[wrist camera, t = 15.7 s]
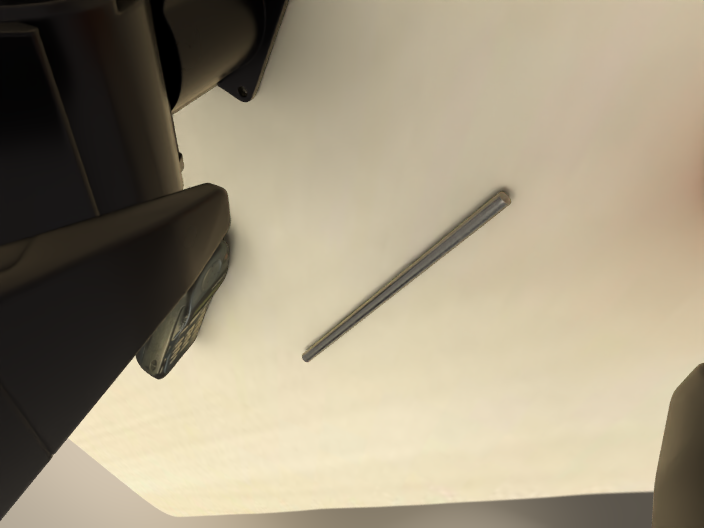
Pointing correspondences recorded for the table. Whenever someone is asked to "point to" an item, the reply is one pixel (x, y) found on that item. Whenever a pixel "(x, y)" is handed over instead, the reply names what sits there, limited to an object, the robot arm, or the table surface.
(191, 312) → the mobile phone
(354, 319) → the rod
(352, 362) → the table surface
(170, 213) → the robot arm
